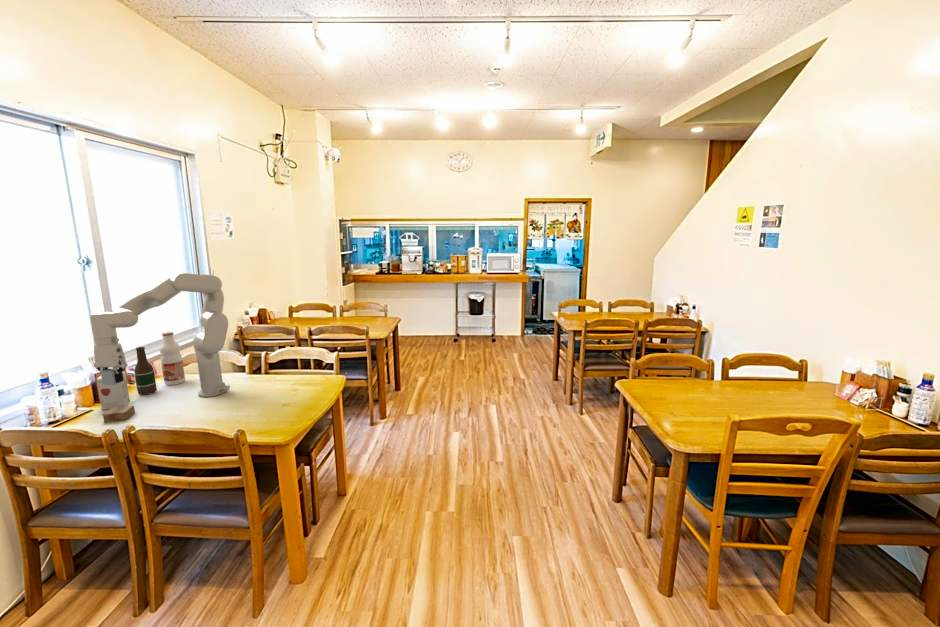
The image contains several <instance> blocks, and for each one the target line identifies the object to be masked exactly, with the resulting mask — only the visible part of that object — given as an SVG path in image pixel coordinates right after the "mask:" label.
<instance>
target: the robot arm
mask: <svg viewBox="0 0 940 627" xmlns="http://www.w3.org/2000/svg"><path fill="white" fill-rule="evenodd" d="M222 286H223V282H222V280H221V279H220V278H219V277H218V276H216V275H213V274H212V275H211V274H206V273H205V274H198V273H197V274H196V273H188V272H182V271H181V272H180V271H178V272H176V271H175V272H173V273H171V274H170V275H168V276H167V277H165V278H164V279H163V280H160V281H159V282H158V283H156V284H155V285H153V286H152V287H150V288H148V289H147V290H145V291H143V292H141V293H140V294H138V295H136V296H134V297H132V298H130V299H129V300H127V301H126V302H125V303H123V304H122V305H119V306H118V307H117V308H116V309H115V310H113V312H110V311H100V312H93V313H91V314H90V316H89V319H90V326H91V330H92V336H93V340H94V341H93V342H94V346H93V357H94V364H93V365H92V366H93V367H94V368H95V369H97V371H98V372H99V374H100V375H101V372H100V371H103V370H106V369H109V368H113V369H114V371H115V373H116V374H114V375H115V380H116V383H119V382H121V381H123V374H122V372H124V371H125V369H126V368H127V367H128V366H129V364H128V363H127V361H126V356H125V352H124V350H123V346H122V344H121V342H119V341H120V339H119V338H118V334H117V333H118V332H117V329H119V328H121V329H122V328H123V329H124V328H131V327H133V326H134V327H135V325H137V323H138V321H139V316H140V315H141V314H142V313H144V312H146V311H147V310H151V309H154V308H158V307H160V306H162V305H164V304H166V303H167V302H169V301H170V300H171V299H173V298H175V297H176V296H178V295H179V294H180V293H181V292H190V293H202V295H203V306H202V310H201V313H200V314H201V315H200V318H199V324H200V325H201V327H202V328H204V329H205V330H204V331H201V332H199V333H197V334H196V335H195V336H194V338H193V340H192V341H193V342H192V343H193V344H192V345H193V350H194V353H195V357H196V362H197V369H198V378H199V382H200V389H201V390H200V391H198V395H197V396H198V397H201V398H209V397H215V396H221V395H222V394H225V393H226V392H227V391H229V390H230V387H231V386H230V384H229V385H228V384H227V385H226V382H223V376H222V367H221V360H220V358H221V357H220V354H219V353H220V352H221V351H222V349H224V347H225V346H224V345H225V343H226V339H227V334H228V328H229V320H228V317H227V315H225V314H224V313H223V310H224V303H225V295H224V292H223V290H222ZM117 368H119V369H117Z"/></svg>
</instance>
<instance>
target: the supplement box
mask: <svg viewBox="0 0 940 627" xmlns="http://www.w3.org/2000/svg"><path fill="white" fill-rule="evenodd" d="M123 377H124V381H123V382H120V383H118V384H115V385H103V383H102V377H101V375H100V376H98V377H97V378H96V384H97V390H98V391H97V392H98V395H99V400H100V406H101V410H110V409H112V408H113V407H123V406H128V405H127V404H128V403H129V402H130V400H131V399H130V393H129V387H128V382H127V376H126V371H125V370H123Z"/></svg>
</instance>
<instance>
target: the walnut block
mask: <svg viewBox="0 0 940 627" xmlns="http://www.w3.org/2000/svg"><path fill="white" fill-rule="evenodd" d="M135 414H136V410H135V405H134V404H133V405H126V406H123V407H113V408H110V409H108V410H107V411H106V412H105V413H102V419H103V423H105V424H106V423H115V422H122V421H123V422H125V421H127V420H129V419H130V418H131V417H132V416H134V415H135Z"/></svg>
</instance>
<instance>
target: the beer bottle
mask: <svg viewBox="0 0 940 627" xmlns="http://www.w3.org/2000/svg"><path fill="white" fill-rule="evenodd" d="M145 349H146V347H144V346H138V347H136V348H135V351H136V358H137V359H136V360H137V363H136V365H135V366H134V369H133V372H134V379H135V385H136V391H137V394H138V395H140V396H146V395H147V396H148V395H151V393H152V394H154V393H156V392H157V391H158V390H157V383H156V377H155V371H154V367H153V366H152V364H151V363H150V362H149V360H148V358H147V355H146V351H145ZM155 391H156V392H155Z"/></svg>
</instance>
